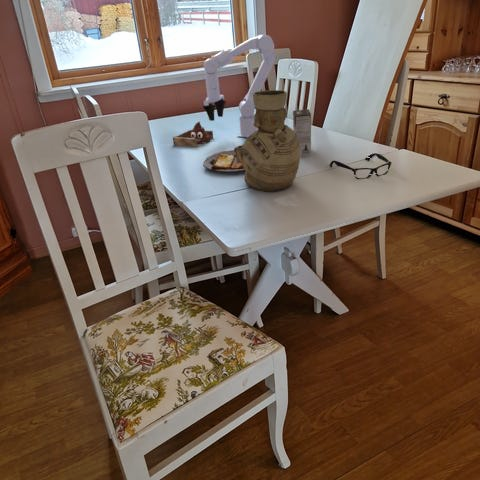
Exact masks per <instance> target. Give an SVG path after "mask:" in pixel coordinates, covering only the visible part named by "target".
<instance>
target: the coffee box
mask: <svg viewBox="0 0 480 480" xmlns="http://www.w3.org/2000/svg"><path fill="white" fill-rule="evenodd" d="M292 126H293V127H292V130H294V132H295V133H296V135H297V137H298V141H299V146H300V157H307V156H310V157H311V156H312V114H311V111H310V109H298V110H292Z"/></svg>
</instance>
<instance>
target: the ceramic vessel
mask: <svg viewBox="0 0 480 480" xmlns="http://www.w3.org/2000/svg"><path fill="white" fill-rule="evenodd" d="M287 97H288V93H287V91H285V90H275V89H272V90H271V89H269V90H267V89H266V90H261V91H258V92H254V93H253V101H254V105H255V107H254V109H255V113H254V114H255V116H254V124H253V125H254V126H255V127H258V131H254V132H253V133H252V134H251V135H250V136H249V137H246V139H244V142H243V143H242V144H241V145H237V146H236V147H234V148H233V150H234V152H235V153H236V162H237V163H241V161H242V164H243V168H244V169H245V170H244V171H245V174H244V178H243V180H244V183H245V184H246V186H248V187H249V188H252V189H255V190H258V191H260V192H261V191H262V192H266V193H267V192H268V193H273V192H279V191H283V190H285V189H288V188H289V187H291V185H292V184H293V183H294V181H295V178H296V177H297V174H298V170H299V168H300V167H299V166H300V162H301V156H300V146H299V141H298V137H297V135H296V133H295V132H294V130H293V128H291V127H290V126H288V125H287V124H285V121H286V119H287V114H288V113H287V110H286V108H285V107H286V102H287Z"/></svg>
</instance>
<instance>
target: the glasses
mask: <svg viewBox="0 0 480 480" xmlns="http://www.w3.org/2000/svg"><path fill="white" fill-rule="evenodd" d="M375 156H376V157H377V158H378V159H379V160H381V161H383V162H385V163H384V164H381V165H378V166H377V167H372V168H371V167H358V168H353V167H351V166H349V165H346V164H345V163H344V162H343V163H342V162H340V161H338V160H331V161H330V163H329V167H330V168H333V164H335V165H336V167H340V168H343V169H346V170H350V171H351V172H353V176H354V175H356V177H355V176H354V178H355V179H356V180H364V179H365V180H366V179H370V178H371V177H372V175H373V174H375V173H377V174H375V176H377V177H380V176H384V175H386V174H388V173H389V171H387V170H386V171H385V172H384V173H382V174H378V169H380V168H383V167H384V166H387V169H389V168H390V169H391V166H392V163H393V162H391V161H390V160H388V158H386V157H385V156H384V155H382V154H380V153H375V152H374V153H371V154H369V155H367V156H366V157H365V159H364V160H365V161H368V162H370V160H371V159H373V157H375ZM367 157H370V158H371V159H370V158H367ZM390 169H389V170H390ZM363 170H370V172H369V174H372V175H369V174H368V176H367V177H357V171H363Z"/></svg>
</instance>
